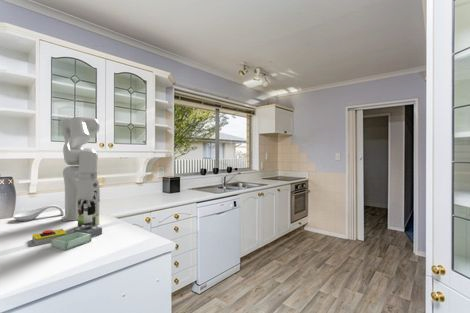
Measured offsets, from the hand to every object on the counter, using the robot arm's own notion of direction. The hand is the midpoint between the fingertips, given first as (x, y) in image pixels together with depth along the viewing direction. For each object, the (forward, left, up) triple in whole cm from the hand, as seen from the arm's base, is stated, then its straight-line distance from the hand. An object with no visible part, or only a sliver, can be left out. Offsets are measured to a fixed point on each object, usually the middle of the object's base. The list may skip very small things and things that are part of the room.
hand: (87, 213), depth 117 cm
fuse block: (0, 0, -10) cm, 10 cm away
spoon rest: (-9, -55, -11) cm, 56 cm away
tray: (+11, +5, -10) cm, 16 cm away
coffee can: (-10, -13, -10) cm, 19 cm away
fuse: (0, 0, -4) cm, 4 cm away
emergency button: (+11, -9, -11) cm, 18 cm away
